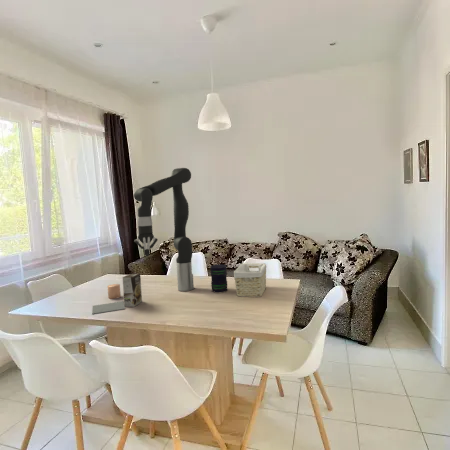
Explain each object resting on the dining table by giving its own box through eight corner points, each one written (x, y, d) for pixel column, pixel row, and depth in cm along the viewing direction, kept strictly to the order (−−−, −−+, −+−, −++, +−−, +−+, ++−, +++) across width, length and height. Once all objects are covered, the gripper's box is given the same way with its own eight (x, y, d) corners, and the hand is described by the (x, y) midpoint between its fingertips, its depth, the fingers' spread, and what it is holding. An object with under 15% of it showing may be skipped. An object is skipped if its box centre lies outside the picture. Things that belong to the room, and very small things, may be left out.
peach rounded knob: (120, 294, 200) (119, 283, 199) (121, 297, 193) (120, 286, 193) (108, 296, 197) (107, 285, 197) (108, 299, 191) (107, 287, 190)
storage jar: (228, 287, 204) (227, 264, 202) (226, 292, 194) (225, 267, 193) (212, 288, 205) (211, 264, 203) (210, 292, 195) (209, 268, 194)
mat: (123, 301, 185) (123, 301, 185) (125, 309, 172) (125, 308, 172) (92, 306, 179) (92, 305, 179) (92, 314, 166) (92, 313, 166)
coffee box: (135, 306, 175) (133, 277, 174) (124, 306, 176) (121, 277, 175) (142, 301, 184) (140, 273, 183) (132, 301, 185) (130, 273, 184)
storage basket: (262, 298, 180) (261, 271, 179) (233, 297, 184) (232, 271, 183) (267, 286, 203) (267, 263, 202) (242, 285, 207) (241, 262, 206)
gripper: (156, 223, 186) (157, 253, 187) (132, 225, 181) (134, 256, 182) (158, 224, 179) (160, 255, 180) (133, 226, 174) (135, 258, 175)
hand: (147, 256), depth 181 cm, fingers closed
